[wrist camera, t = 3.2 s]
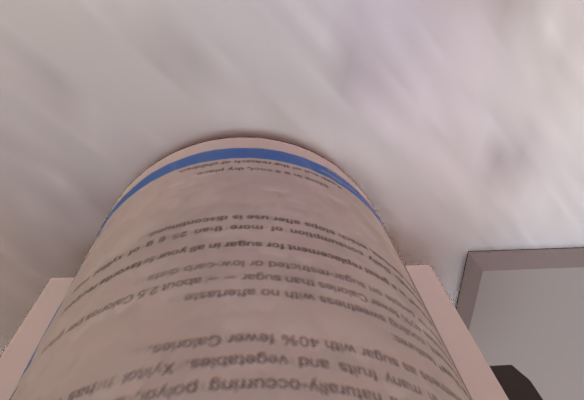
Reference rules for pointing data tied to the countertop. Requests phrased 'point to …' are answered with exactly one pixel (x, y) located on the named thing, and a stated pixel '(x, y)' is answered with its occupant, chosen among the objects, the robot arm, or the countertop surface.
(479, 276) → the slate coaster
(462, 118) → the countertop surface
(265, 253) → the supplement tub
